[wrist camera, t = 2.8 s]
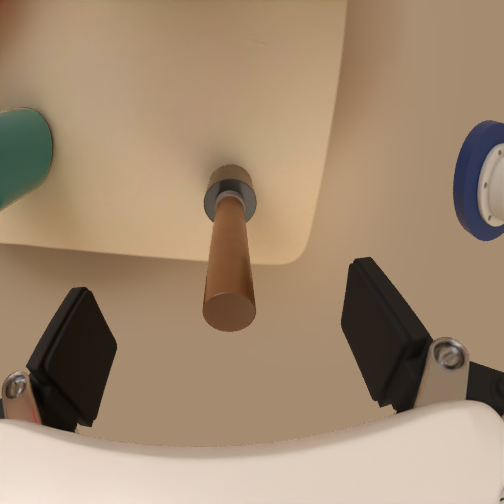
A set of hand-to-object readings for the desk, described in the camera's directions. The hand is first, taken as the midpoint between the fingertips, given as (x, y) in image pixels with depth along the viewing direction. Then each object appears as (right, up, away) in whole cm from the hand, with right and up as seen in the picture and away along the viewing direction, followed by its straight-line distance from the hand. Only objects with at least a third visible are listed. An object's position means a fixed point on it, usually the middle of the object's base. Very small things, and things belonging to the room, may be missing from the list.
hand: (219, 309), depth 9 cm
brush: (-1, +8, +14) cm, 16 cm away
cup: (-23, +12, +10) cm, 28 cm away
